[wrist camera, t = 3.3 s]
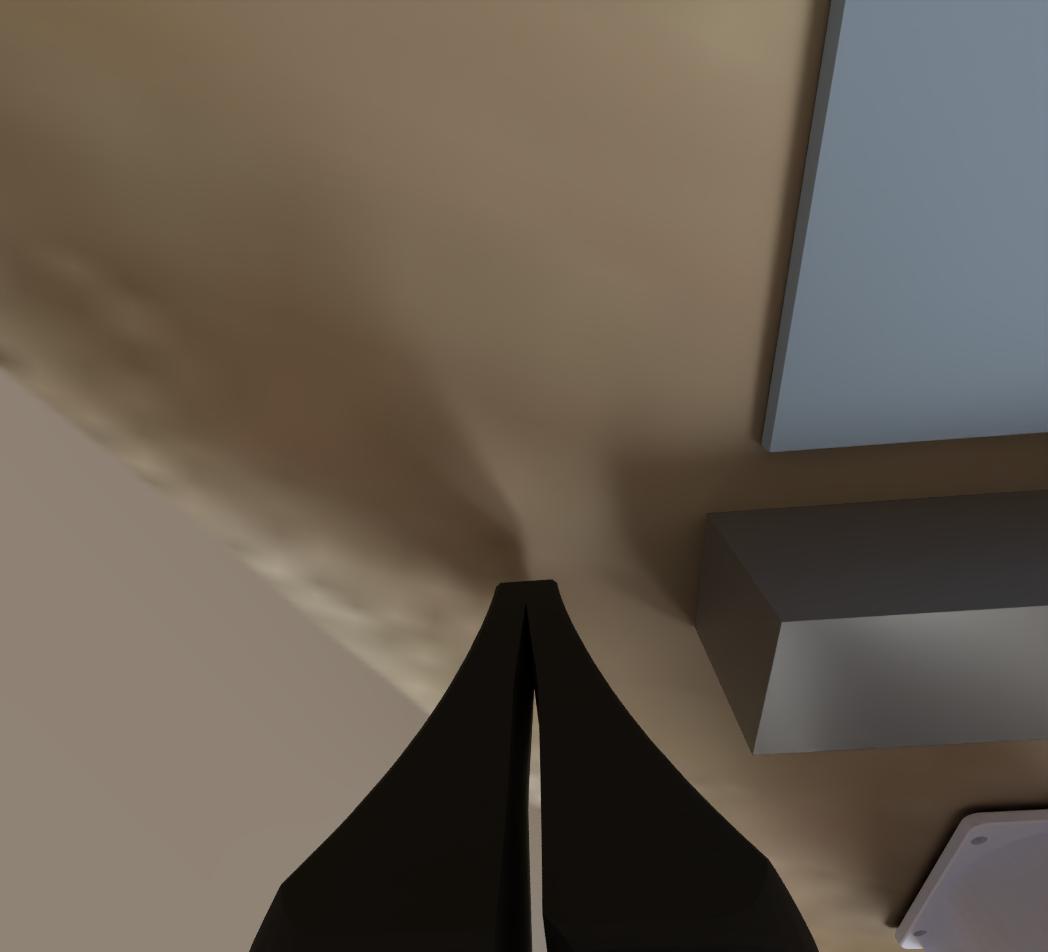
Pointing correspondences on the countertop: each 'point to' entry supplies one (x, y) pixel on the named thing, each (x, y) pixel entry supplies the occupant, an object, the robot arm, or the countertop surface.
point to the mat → (920, 231)
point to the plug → (880, 621)
